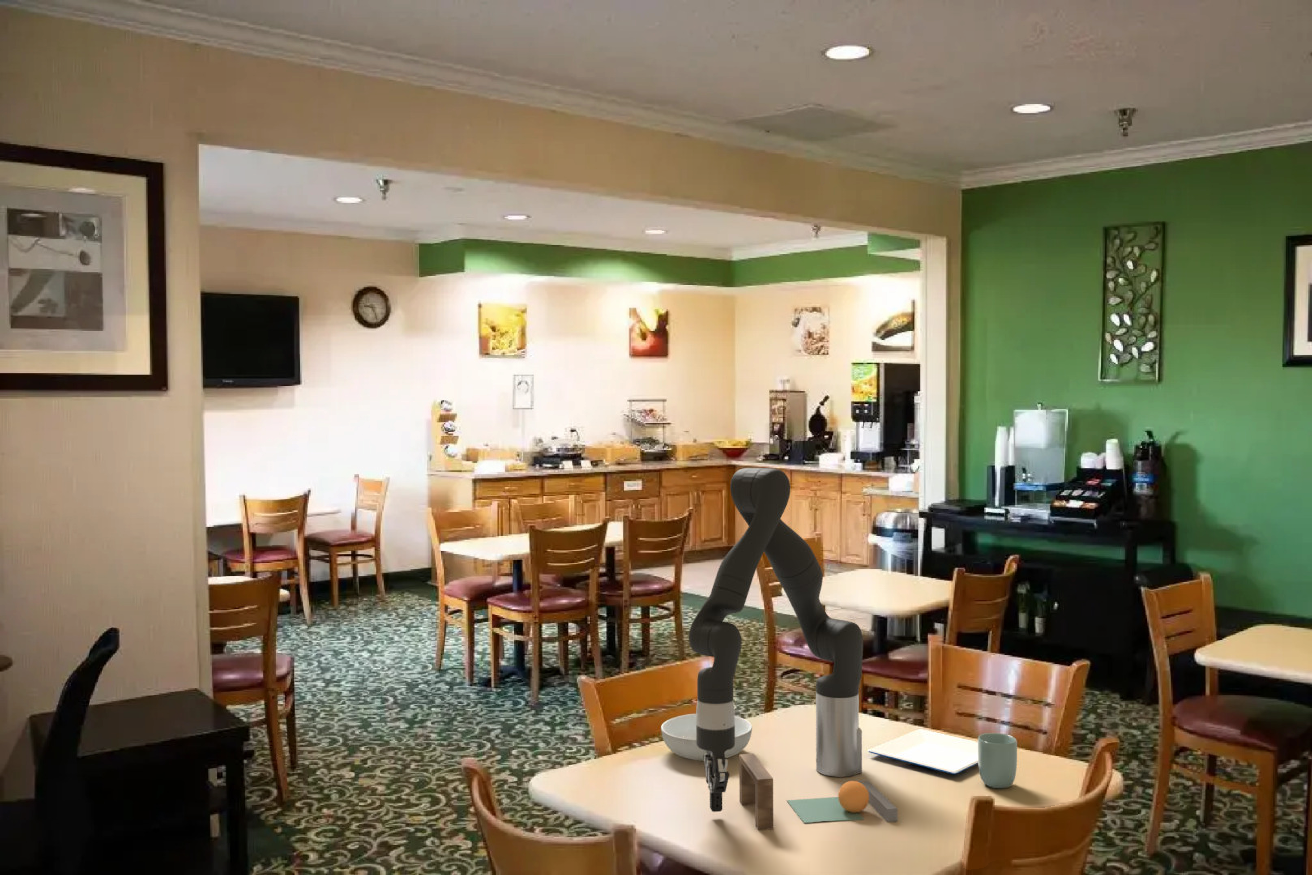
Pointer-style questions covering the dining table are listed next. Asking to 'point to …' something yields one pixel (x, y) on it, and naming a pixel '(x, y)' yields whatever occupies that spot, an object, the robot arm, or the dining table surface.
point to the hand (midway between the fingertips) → (716, 809)
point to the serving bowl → (687, 728)
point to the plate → (931, 751)
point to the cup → (997, 759)
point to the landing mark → (822, 810)
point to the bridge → (756, 789)
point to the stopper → (880, 802)
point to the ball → (853, 796)
